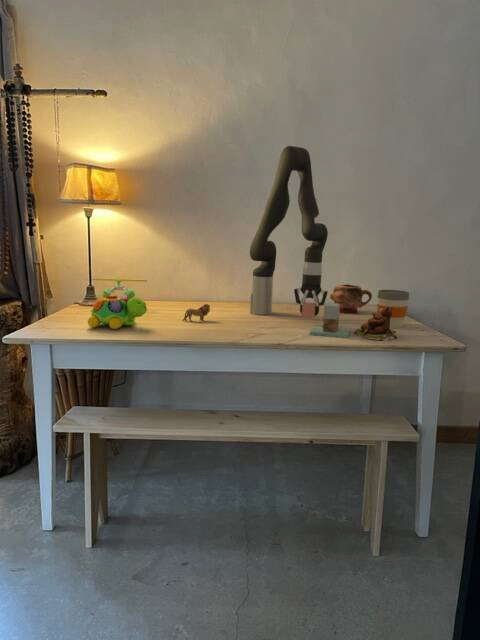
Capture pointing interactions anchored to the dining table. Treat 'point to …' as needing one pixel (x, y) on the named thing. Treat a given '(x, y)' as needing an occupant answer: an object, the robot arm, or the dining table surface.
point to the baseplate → (340, 332)
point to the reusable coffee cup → (394, 305)
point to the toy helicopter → (119, 288)
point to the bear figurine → (378, 326)
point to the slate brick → (331, 310)
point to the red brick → (308, 309)
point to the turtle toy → (116, 311)
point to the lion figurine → (197, 312)
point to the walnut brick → (330, 325)
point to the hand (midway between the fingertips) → (309, 314)
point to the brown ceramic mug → (349, 298)
